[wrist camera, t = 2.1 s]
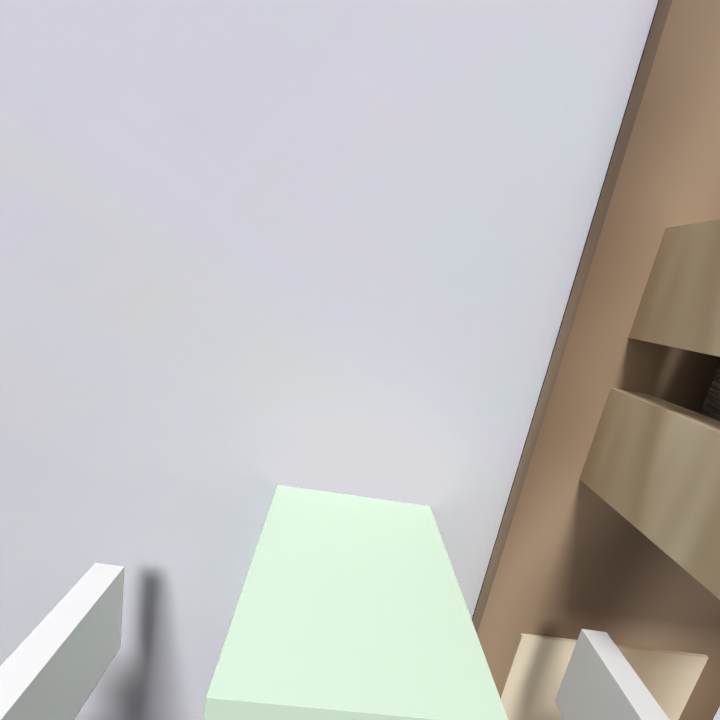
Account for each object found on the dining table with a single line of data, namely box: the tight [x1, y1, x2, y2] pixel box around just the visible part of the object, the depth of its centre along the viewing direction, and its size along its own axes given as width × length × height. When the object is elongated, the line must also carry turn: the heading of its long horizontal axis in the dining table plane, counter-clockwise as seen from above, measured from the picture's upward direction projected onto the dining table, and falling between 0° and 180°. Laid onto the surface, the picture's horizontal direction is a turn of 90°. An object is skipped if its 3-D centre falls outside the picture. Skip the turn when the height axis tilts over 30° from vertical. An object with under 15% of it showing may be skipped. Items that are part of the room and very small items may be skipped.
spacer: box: [203, 485, 508, 720], centre depth 9 cm, size 5×6×6 cm
